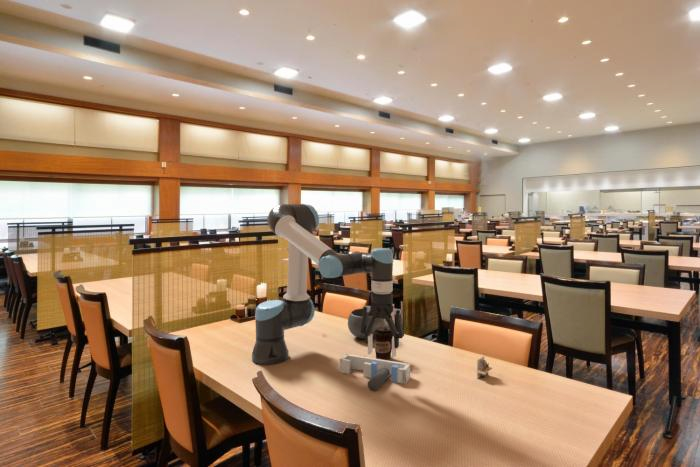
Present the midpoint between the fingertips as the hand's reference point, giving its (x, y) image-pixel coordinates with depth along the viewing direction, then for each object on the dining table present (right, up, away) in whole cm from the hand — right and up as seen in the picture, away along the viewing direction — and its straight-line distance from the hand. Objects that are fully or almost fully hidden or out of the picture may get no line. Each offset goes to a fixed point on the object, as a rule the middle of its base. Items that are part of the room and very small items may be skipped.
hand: (381, 354), depth 142 cm
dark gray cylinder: (0, -10, 0) cm, 10 cm away
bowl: (-4, -8, +51) cm, 52 cm away
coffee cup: (+3, -9, +24) cm, 25 cm away
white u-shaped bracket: (-2, -10, +8) cm, 13 cm away
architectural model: (+38, -11, +5) cm, 40 cm away
